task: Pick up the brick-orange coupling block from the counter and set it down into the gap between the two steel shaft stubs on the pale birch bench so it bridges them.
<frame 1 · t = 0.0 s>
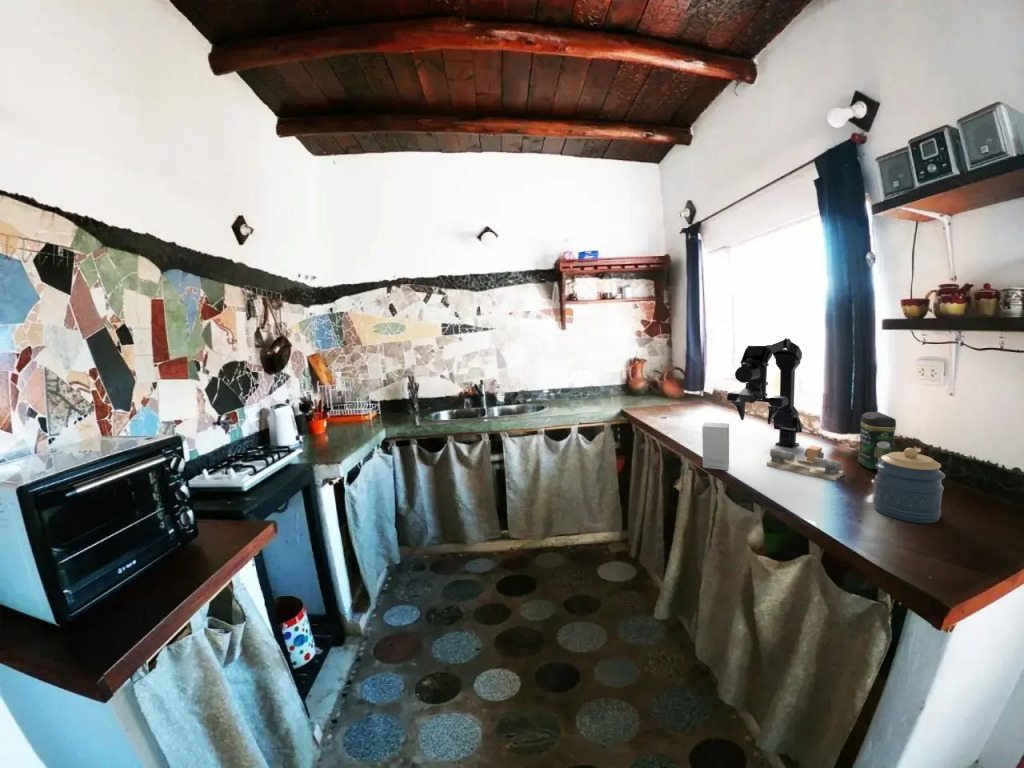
hand: (755, 421, 150), 15 cm above the countertop, tool pointing down, fingers open, 9 cm apart
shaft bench: (803, 469, 141), on the countertop
coupling: (813, 461, 149), on the countertop
skincare box: (715, 467, 148), on the countertop
canister: (904, 513, 109), on the countertop
coffee jar: (874, 466, 141), on the countertop
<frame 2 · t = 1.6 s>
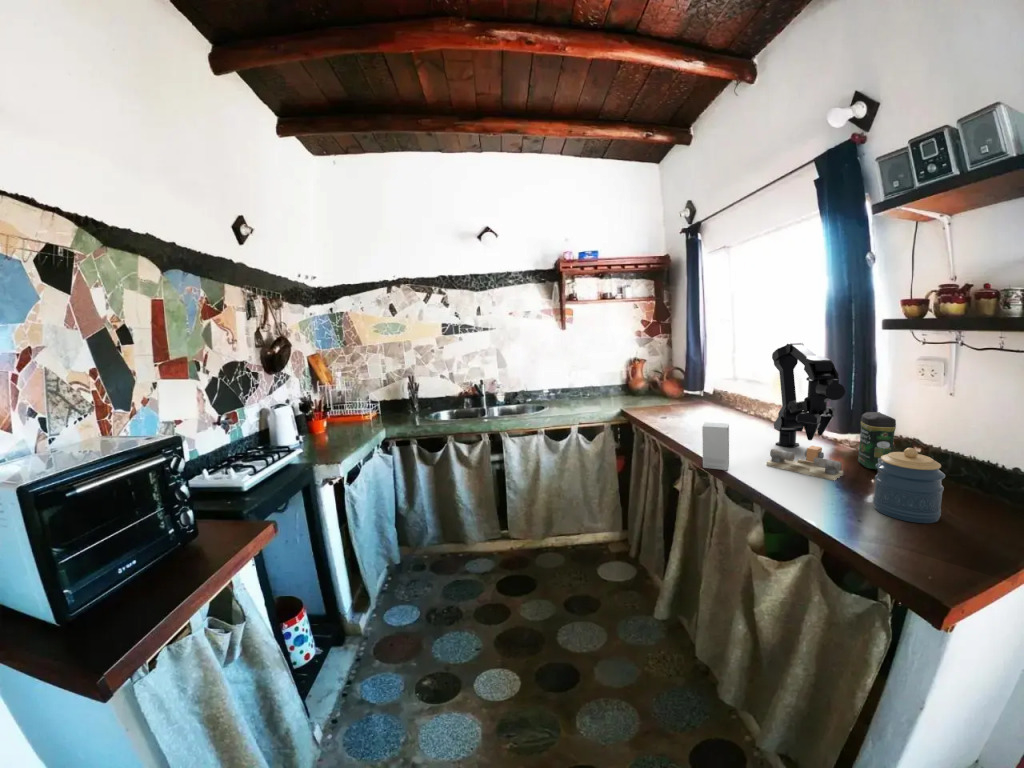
hand: (814, 437, 148), 9 cm above the countertop, tool pointing down, fingers open, 9 cm apart
nothing on the countertop moved.
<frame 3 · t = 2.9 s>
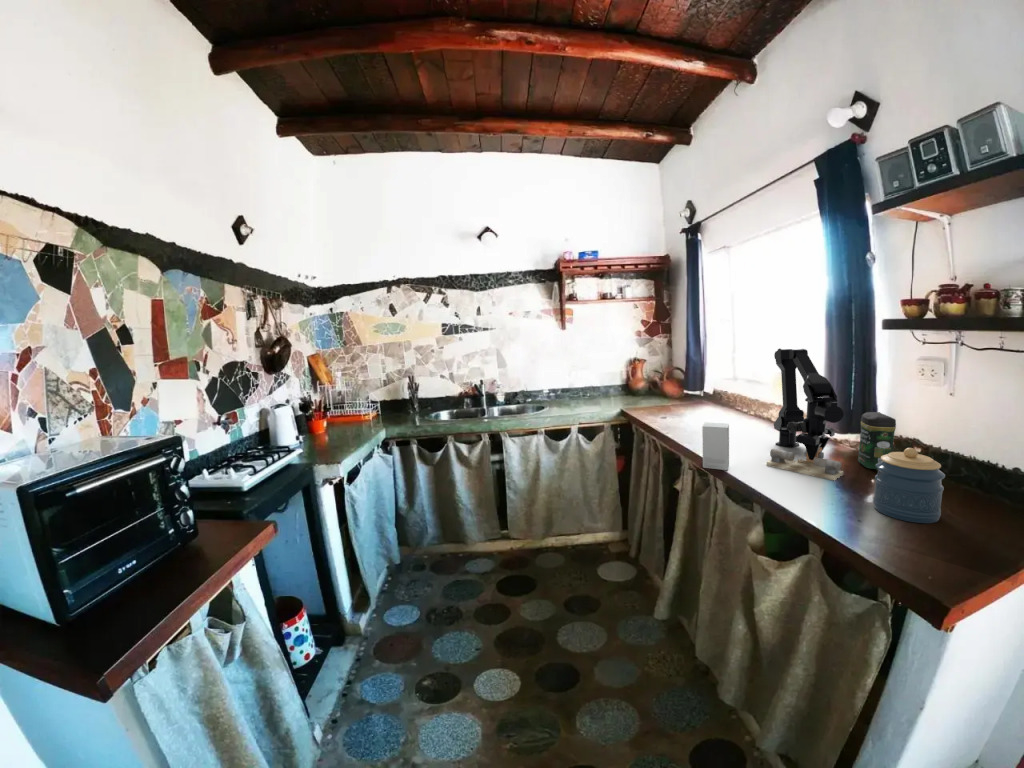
hand: (813, 458, 149), 1 cm above the countertop, tool pointing down, fingers closed on coupling, 5 cm apart
coupling: (813, 461, 149), on the countertop, touching gripper
everything else where it was.
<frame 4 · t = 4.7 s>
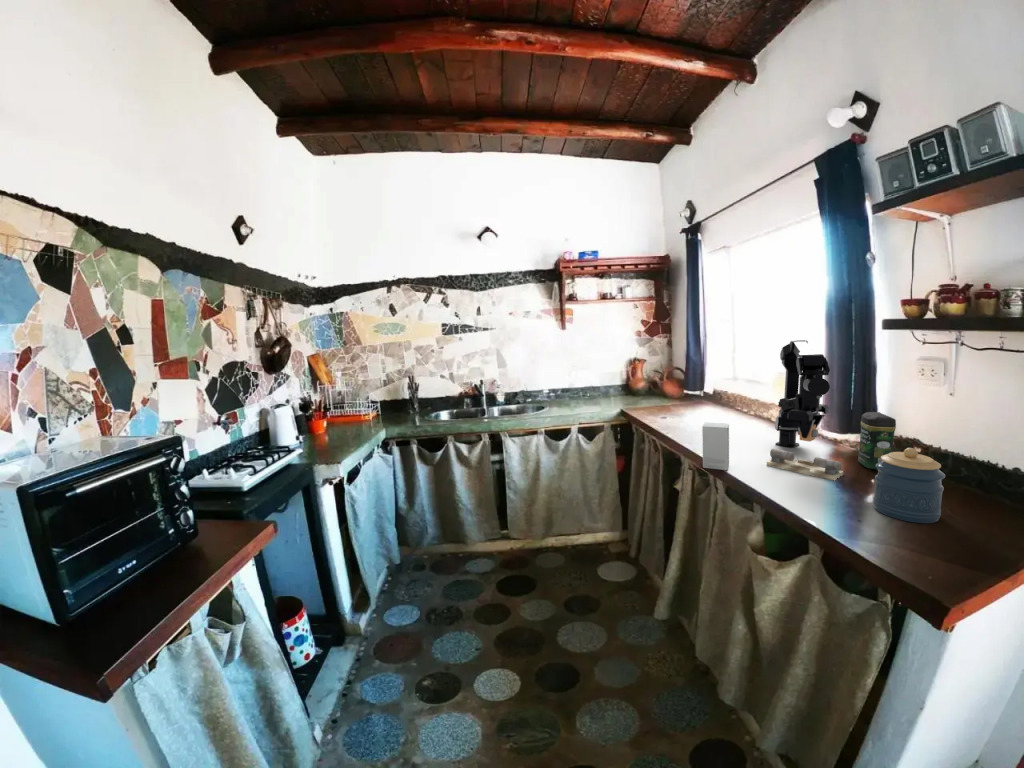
hand: (807, 436, 140), 12 cm above the countertop, tool pointing down, fingers closed on coupling, 5 cm apart
coupling: (807, 439, 140), point 10 cm above the countertop, touching gripper
everything else where it was.
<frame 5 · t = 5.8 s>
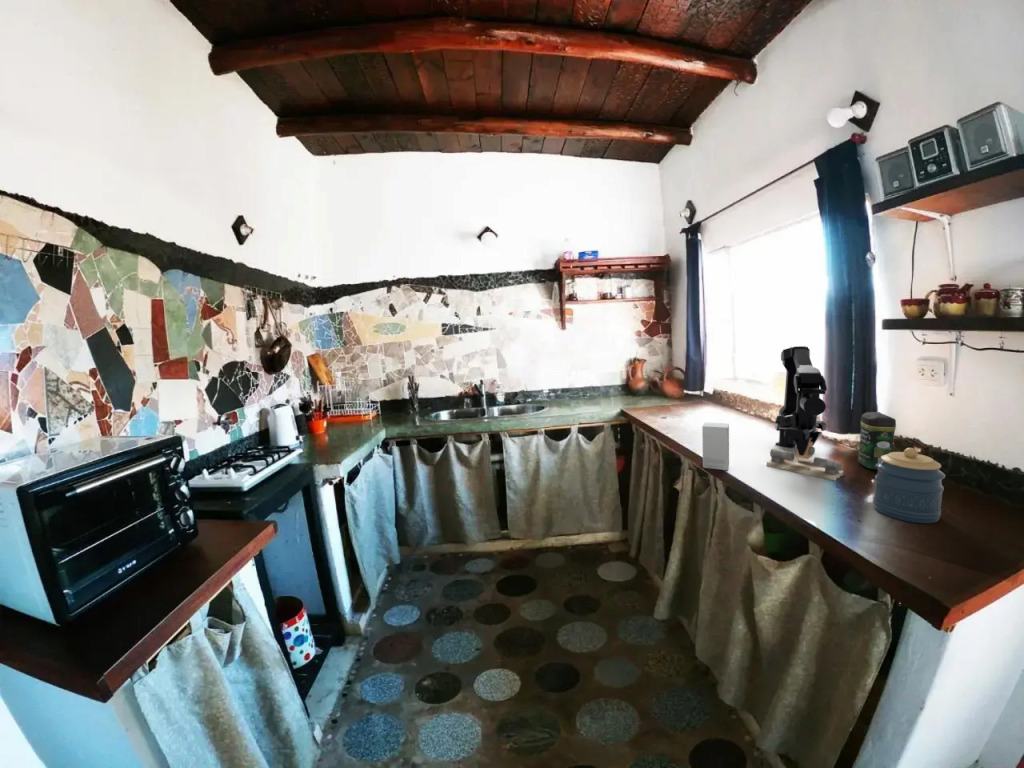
hand: (804, 453, 141), 6 cm above the countertop, tool pointing down, fingers closed on coupling, 5 cm apart
coupling: (804, 456, 141), point 5 cm above the countertop, touching gripper
everything else where it was.
when the fingers open (4 cm above the countertop, at t = 6.5 s): coupling drops 1 cm, resting on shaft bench.
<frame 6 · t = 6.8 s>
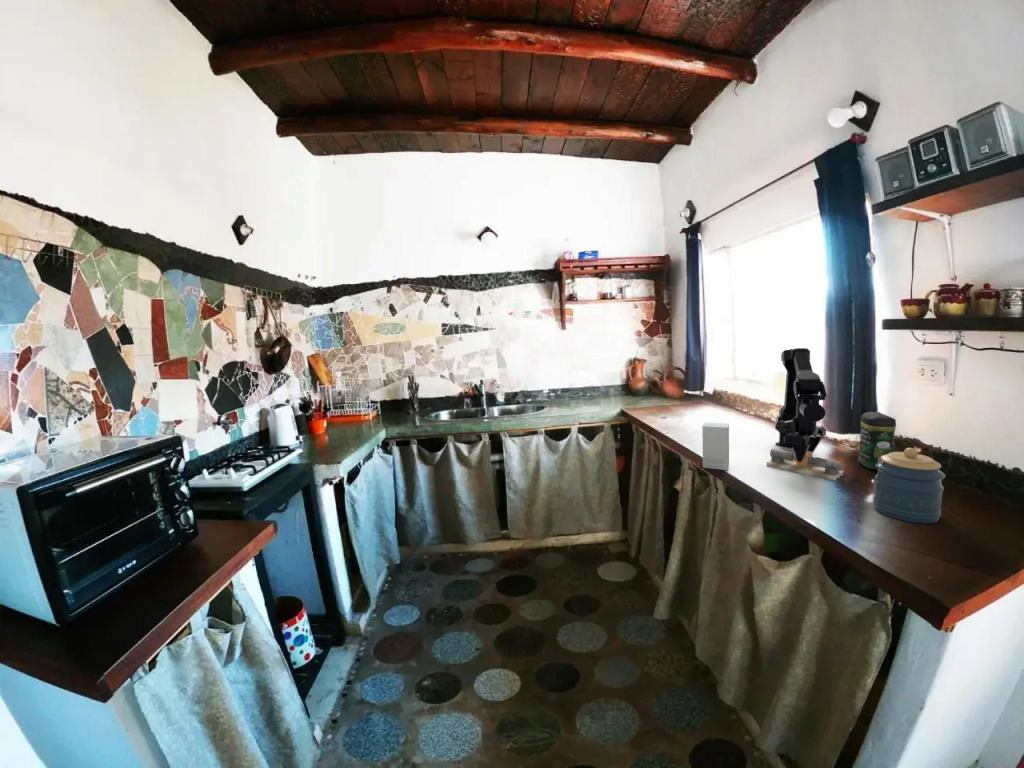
hand: (803, 459, 141), 4 cm above the countertop, tool pointing down, fingers open, 7 cm apart
coupling: (803, 466, 141), point 1 cm above the countertop, touching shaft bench
everything else where it was.
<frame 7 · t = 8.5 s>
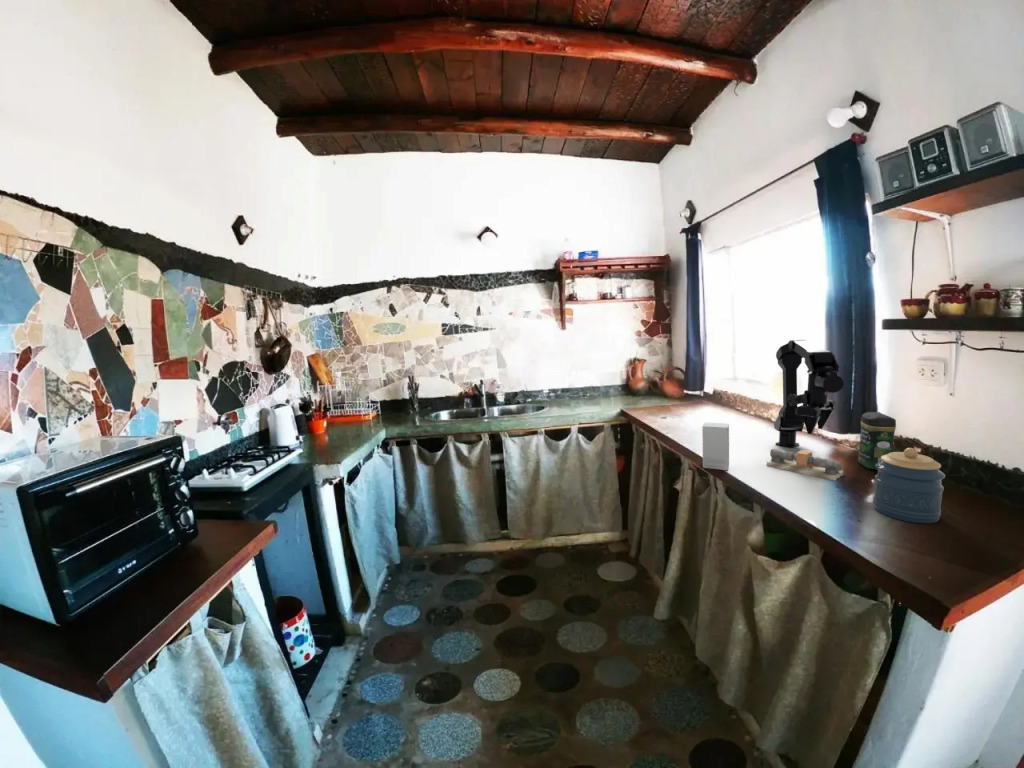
hand: (815, 431, 145), 12 cm above the countertop, tool pointing down, fingers open, 9 cm apart
nothing on the countertop moved.
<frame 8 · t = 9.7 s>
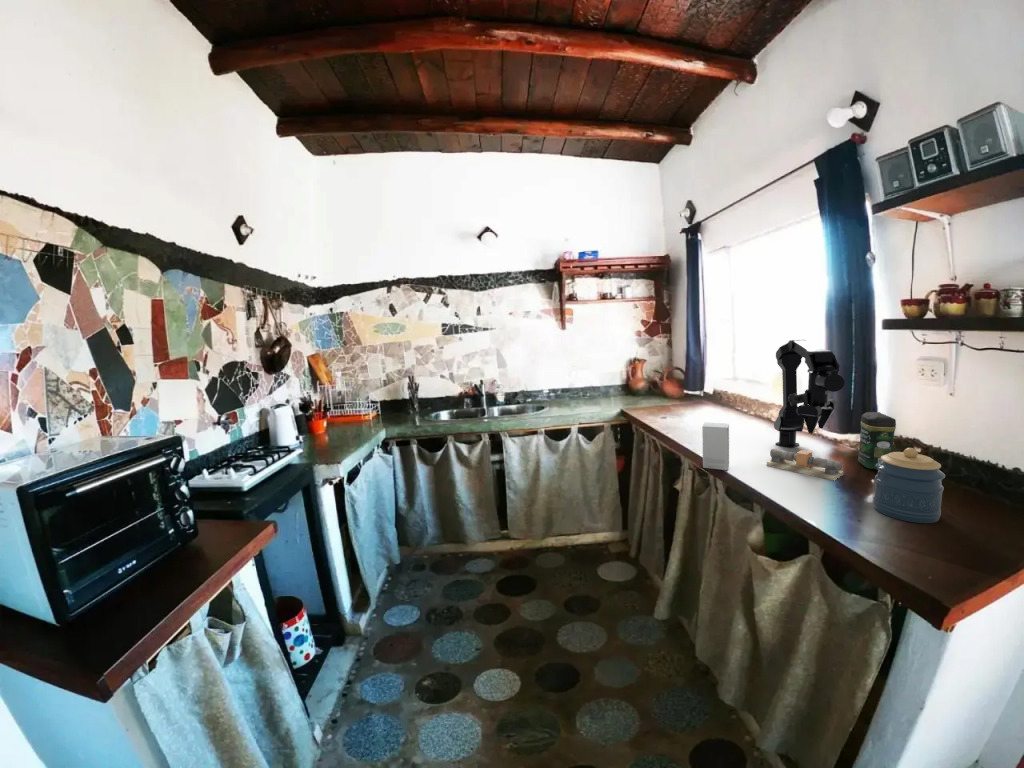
hand: (815, 430, 145), 12 cm above the countertop, tool pointing down, fingers open, 9 cm apart
nothing on the countertop moved.
at the end: coupling 0.0 cm off-centre on the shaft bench, point 1.2 cm above the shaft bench's base; coupling tilted 0°; the gripper is holding nothing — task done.
